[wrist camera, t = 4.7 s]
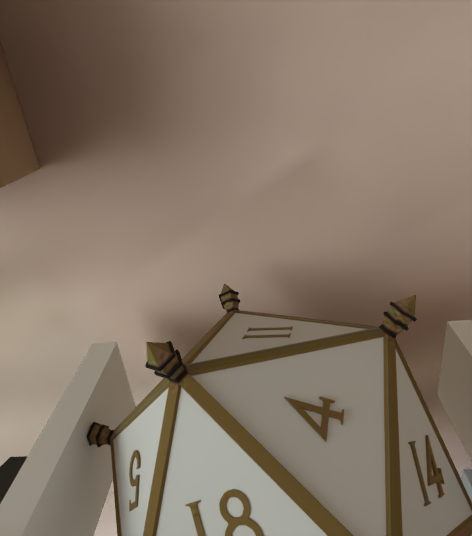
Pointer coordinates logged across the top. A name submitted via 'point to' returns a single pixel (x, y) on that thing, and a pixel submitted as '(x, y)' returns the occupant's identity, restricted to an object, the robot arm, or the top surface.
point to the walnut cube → (13, 132)
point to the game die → (285, 436)
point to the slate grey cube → (467, 482)
